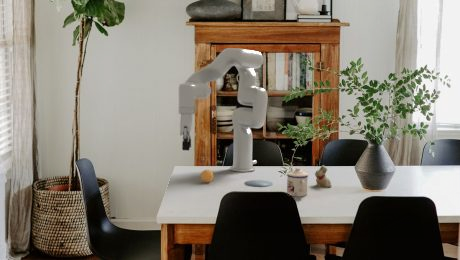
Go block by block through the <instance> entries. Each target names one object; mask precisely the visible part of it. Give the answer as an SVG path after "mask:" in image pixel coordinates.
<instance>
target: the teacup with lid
mask: <svg viewBox="0 0 460 260" xmlns="http://www.w3.org/2000/svg"><path fill="white" fill-rule="evenodd" d="M286 177H287V181H286V183H287V184H286V190H287V191H286V194H287V193H289V194H291V195H292V196H291V197H305V196H307V194H308V179H309V178H308V177H309V174H308V173H307V172H305V171H304V170H301V168H300V167H296V168H295V169H293V170H291V171H288V172H287V174H286Z"/></svg>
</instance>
